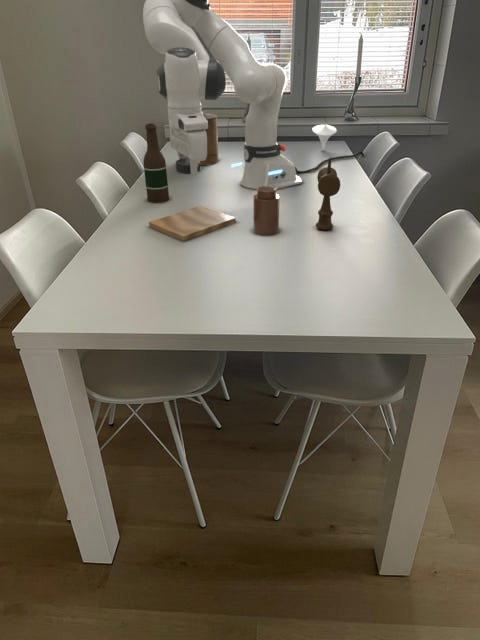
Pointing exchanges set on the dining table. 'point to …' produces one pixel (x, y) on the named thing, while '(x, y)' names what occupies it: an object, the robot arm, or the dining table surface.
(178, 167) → the lid
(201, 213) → the board
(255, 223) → the jar
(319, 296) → the dining table surface
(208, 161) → the wooden container
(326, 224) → the kendama
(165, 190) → the beer bottle
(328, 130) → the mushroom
